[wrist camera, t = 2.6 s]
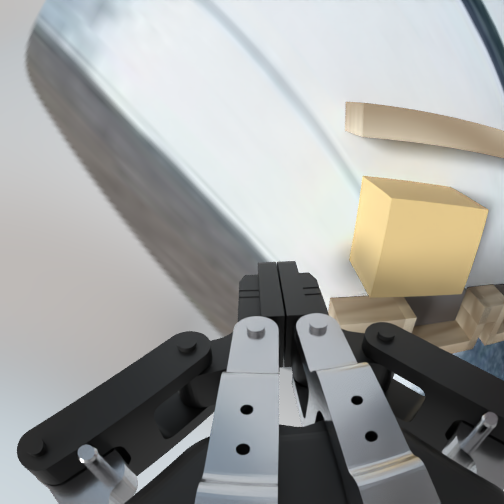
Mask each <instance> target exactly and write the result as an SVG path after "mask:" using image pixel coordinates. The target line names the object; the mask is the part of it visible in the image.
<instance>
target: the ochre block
mask: <svg viewBox="0 0 504 504" xmlns="http://www.w3.org/2000/svg"><path fill="white" fill-rule="evenodd" d="M487 214H488V209H486V208H485V207H483V206H481V205H480V204H478V203H477V202H475V201H473V200H472V199H470V198H468V197H467V196H465V195H463V194H462V193H460V192H458V191H456V190H455V189H453V188H451V187H447V186H440V185H433V184H426V183H419V182H412V181H404V180H396V179H387V178H378V177H368V176H363V177H362V185H361V192H360V199H359V206H358V212H357V219H356V225H355V231H354V237H353V242H352V248H351V253H350V259H349V260H350V262H351V264H352V266H353V267H354V269H355V271H356V273H357V275H358V277H359V278H360V280H361V282H362V284H363V286H364V288H365V290H366V292H367V293H368V295H369V297H370V298H377V297H411V296H435V295H455V294H462V292H463V289H464V287H465V284H466V282H467V279H468V276H469V273H470V270H471V268H472V265H473V262H474V259H475V256H476V253H477V249H478V246H479V243H480V240H481V236H482V233H483V229H484V226H485V222H486V218H487Z"/></svg>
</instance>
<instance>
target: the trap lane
mask: <svg viewBox="0 0 504 504" xmlns="http://www.w3.org/2000/svg"><path fill="white" fill-rule="evenodd" d="M345 131H347V132H350V133H353V134H356V135H358V136H361V137H369V138H380V139H390V140H399V141H408V142H416V143H423V144H431V145H437V146H444V147H450V148H456V149H461V150H467V151H472V152H477V153H482V154H487V155H492V156H496V157H501V158H504V131H502V130H499V129H496V128H492V127H489V126H485V125H481V124H478V123H474V122H470V121H466V120H461V119H457V118H453V117H448V116H444V115H439V114H434V113H429V112H423V111H418V110H412V109H406V108H399V107H393V106H385V105H378V104H369V103H358V102H346V116H345ZM328 314H329V316H331V317H333V318H334V319H335V320H336V321H337V322H338V323H339V325H340V327H341V329H344V330H347V331H352V332H359V333H365V330H366V329H367V327H368V326H370V325H371V324H373V323H377V322H387V323H392V324H394V325H396V326H398V327H400V328H402V329H404V330H406V331H408V332H410V333H412V334H414V335H416V336H418V337H420V338H422V339H424V340H426V341H428V342H429V343H431V344H433V345H435V346H437V347H439V348H441V349H443V350H445V351H447V352H449V353H451V354H452V353H456V352H461V351H465V350H469V349H473V347H474V345H475V343H476V341H477V339H478V337H479V338H480V340H481V341H482V342H483V344H484V345H489V344H493V343H497V342H500V341H504V284H501V285H493V284H492V285H484V286H475V287H467V290H466V289H463V292H462V294H455V295H435V296H411V297H377V298H370V297H369V296H359V297H341V298H330V304H329V311H328Z"/></svg>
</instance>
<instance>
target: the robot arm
mask: <svg viewBox="0 0 504 504" xmlns="http://www.w3.org/2000/svg"><path fill="white" fill-rule="evenodd" d="M283 358H284V366H285V367H292V372H293V377H292V386H293V391H294V395H295V399H296V403H297V407H298V411H299V416H300V420H301V424H302V427H293V426H286V425H279V367H283ZM394 373H395V374H397V375H399V376H401V377H402V378H404V379H406V380H408V381H409V382H411V383H413V384H415V385H416V386H418V387H420V388H421V389H422V390H423V391H424V393H425V396H422V395H420V394H418V393H417V392H415V391H413V390H411V389H410V388H408V387H406V386H405V385H403V384H401V383H399V382H398V381H396V380H394V379H393V376H394ZM214 411H215V412H214ZM213 412H214V418H213V423H212V429H211V434H210V437H208V438H205V439H203V440H201V441H199V442H197V443H195V444H194V445H192V446H191V447H189V448H188V449H187V450H186V451H185V452H183V454H181V455H180V456H179V457H178V458H177V459H176V460H174V461H173V462H172V463H171V464H170V465H169V466H168V467H167V468H166V469H164V470H163V471H162V472H161V473H160V474H159V475H158V476H156V477H155V478H154V479H153V480H152V481H151V482H149V483H148V484H147V485H146V486H145V487H144V488H142V489H141V490H140V491H139V492H138V493H136V494H135V492H136V490H137V486H138V481H137V477H136V476H138V475H139V474H140V473H141V472H143V471H144V470H145V469H146V468H148V467H149V466H150V465H152V464H153V463H154V462H155V461H157V460H158V459H159V458H160V457H162V456H163V455H164V454H165V453H167V452H168V451H169V450H170V449H171V448H173V447H174V446H175V445H176V444H178V442H180V441H181V440H182V439H183V438H185V437H186V436H187V435H188V434H189V433H190V432H192V431H193V430H194V429H195V428H196V427H197V426H199V425H200V424H201V423H202V422H203V421H204V420H205V419H207V418H208V417H209V416H210V415H211V414H212V413H213ZM17 455H18V458H19V461H20V462H21V464H22V465H23V466H25V468H27V469H28V470H29V471H30V472H31V473H32V474H33V475H35V476H36V478H37V479H38V480H39V481H40V482H41V483H43V484H44V485H45V486H46V487H48V488H49V489H50V491H51V493H52V494H53V496H54V497H55V499H56V500H57V502H58V503H59V504H504V491H503V489H504V381H503V380H501V379H499V378H497V377H495V376H493V375H491V374H490V373H488V372H486V371H484V370H482V369H480V368H478V367H476V366H474V365H472V364H470V363H468V362H466V361H464V360H462V359H460V358H459V357H457V356H455V355H453V354H451V353H449V352H447V351H445V350H443V349H441V348H439V347H437V346H435V345H433V344H431V343H429V342H428V341H426V340H424V339H422V338H420V337H418V336H416V335H414V334H412V333H410V332H408V331H406V330H404V329H402V328H400V327H398V326H396V325H394V324H392V323H387V322H377V323H373V324H371V325H370V326H368V327H367V329H366V330H365V333H359V332H352V331H347V330H344V329H341V327H340V325H339V323H338V322H337V321H336V320H335V319H334V318H333V317H331V316H329V314H328V311H327V308H326V305H325V302H324V299H323V297H322V295H321V291H320V288H319V285H318V283H317V280H316V279H315V278H314V277H313V276H312V275H311V274H310V273H299V272H298V269H297V265H296V262H295V261H286V262H277V266H276V262H261V263H258V275H245V276H244V277H243V278H242V280H241V281H240V282H239V305H238V323H237V324H236V325H235V327H234V331H233V332H232V333H231V334H229V335H227V336H225V337H223V338H220V339H217V340H212V341H210V340H209V339H208V338H207V337H206V336H205V335H204V334H202V333H198V332H192V331H189V332H182V333H179V334H176V335H174V336H173V337H171V338H170V339H168V340H167V341H165V342H164V343H162V344H161V345H160V346H158V347H157V348H155V349H154V350H152V351H151V352H149V353H148V354H146V355H145V356H143V357H142V358H140V359H139V360H138V361H136V362H134V363H133V364H131V365H130V366H128V367H127V368H125V369H124V370H122V371H121V372H120V373H118V374H116V375H115V376H113V377H112V378H110V379H109V380H107V381H106V382H104V383H103V384H101V385H99V386H98V387H96V388H95V389H93V390H92V391H90V392H89V393H87V394H86V395H84V396H83V397H81V398H80V399H78V400H77V401H75V402H74V403H72V404H70V405H69V406H67V407H66V408H64V409H63V410H61V411H59V412H58V413H56V414H55V415H53V416H51V417H50V418H48V419H47V420H45V421H44V422H42V423H40V424H39V425H37V426H36V427H34V428H32V429H31V430H29V431H28V432H26V433H25V434H24V435H23V436H22V437H21V439H20V441H19V443H18V446H17ZM134 494H135V495H134ZM133 495H134V496H133ZM132 496H133V497H132Z"/></svg>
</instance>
